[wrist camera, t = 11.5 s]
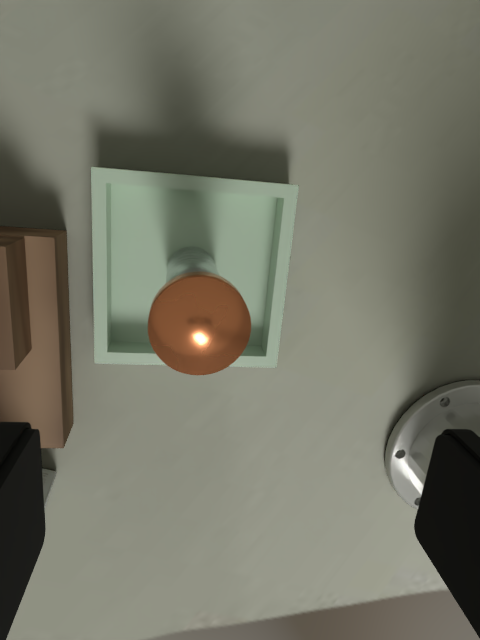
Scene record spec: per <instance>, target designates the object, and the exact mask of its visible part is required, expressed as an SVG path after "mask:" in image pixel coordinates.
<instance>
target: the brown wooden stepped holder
mask: <svg viewBox="0 0 480 640" xmlns="http://www.w3.org/2000/svg"><path fill="white" fill-rule="evenodd" d="M0 422H29V423H30V425H31V428H32V429H38V430H39V432H40V443H41V448H64V446H65V443H66V441H67V438H68V436H69V433H70V431H71V428H72V426H73V400H72V372H71V344H70V316H69V288H68V260H67V232H66V231H65V230H50V229H35V228H20V227H5V226H0Z"/></svg>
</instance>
